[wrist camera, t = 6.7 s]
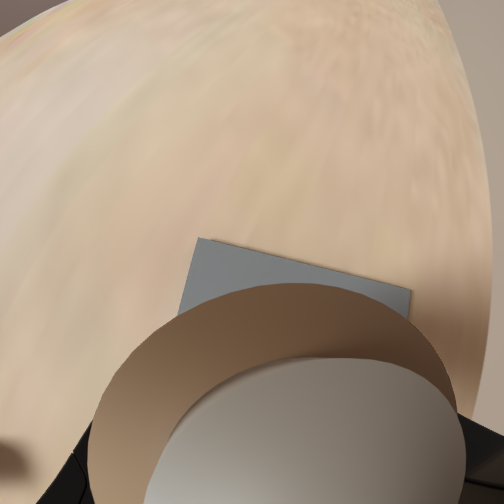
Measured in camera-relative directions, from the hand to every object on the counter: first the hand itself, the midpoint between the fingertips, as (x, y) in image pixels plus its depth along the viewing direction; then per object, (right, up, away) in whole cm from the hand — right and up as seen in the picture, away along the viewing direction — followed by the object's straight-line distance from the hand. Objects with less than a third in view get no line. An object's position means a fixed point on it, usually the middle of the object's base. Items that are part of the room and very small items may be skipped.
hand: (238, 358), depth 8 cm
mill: (-1, -3, +6) cm, 7 cm away
